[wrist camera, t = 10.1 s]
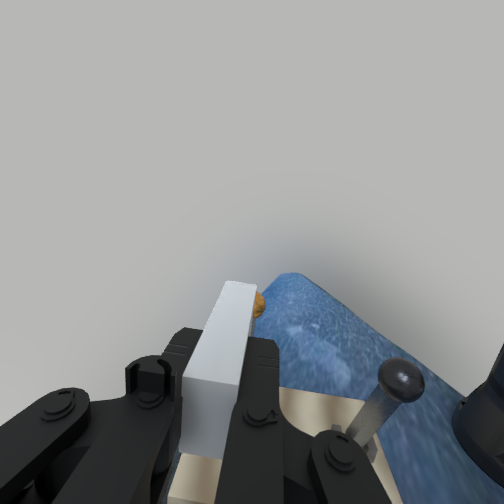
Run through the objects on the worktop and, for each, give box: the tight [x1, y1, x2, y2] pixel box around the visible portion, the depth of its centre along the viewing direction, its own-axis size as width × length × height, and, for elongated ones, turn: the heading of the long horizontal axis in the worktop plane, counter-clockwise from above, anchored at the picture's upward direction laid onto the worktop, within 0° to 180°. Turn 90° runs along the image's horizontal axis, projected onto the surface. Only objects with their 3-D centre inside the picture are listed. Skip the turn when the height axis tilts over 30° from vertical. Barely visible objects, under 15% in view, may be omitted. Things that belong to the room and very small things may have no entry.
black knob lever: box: [345, 357, 425, 448], centre depth 28 cm, size 4×4×16 cm
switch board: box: [167, 387, 403, 504], centre depth 33 cm, size 23×16×4 cm
